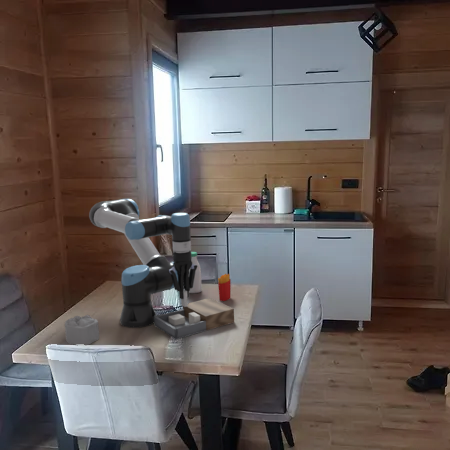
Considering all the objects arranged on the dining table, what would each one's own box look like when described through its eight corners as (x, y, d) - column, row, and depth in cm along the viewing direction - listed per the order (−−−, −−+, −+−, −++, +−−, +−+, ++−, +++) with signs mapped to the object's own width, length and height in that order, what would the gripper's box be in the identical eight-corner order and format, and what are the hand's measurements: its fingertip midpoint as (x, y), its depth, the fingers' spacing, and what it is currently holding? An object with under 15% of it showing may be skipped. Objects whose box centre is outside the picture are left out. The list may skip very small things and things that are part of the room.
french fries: (226, 295, 242) (225, 272, 239) (232, 297, 239) (232, 273, 237) (216, 301, 234) (215, 276, 232) (223, 302, 232) (222, 277, 230)
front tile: (200, 327, 200) (195, 328, 199) (194, 323, 205) (189, 324, 203) (200, 315, 199) (194, 316, 198) (194, 312, 204) (188, 313, 202)
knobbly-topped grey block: (83, 347, 187) (81, 325, 186) (59, 341, 194) (57, 320, 192) (102, 337, 196) (101, 316, 195) (79, 331, 202) (77, 311, 201)
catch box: (175, 339, 192) (175, 329, 191) (154, 325, 206) (153, 316, 205) (206, 330, 199) (205, 321, 199) (183, 317, 214) (183, 309, 213)
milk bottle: (204, 289, 252) (202, 251, 249) (197, 294, 245) (195, 255, 242) (191, 288, 255) (189, 250, 252) (183, 292, 249) (181, 253, 245)
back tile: (184, 317, 205) (185, 322, 206) (178, 313, 209) (179, 319, 210) (174, 319, 202) (174, 325, 203) (168, 316, 206) (168, 322, 207)
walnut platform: (206, 330, 199) (205, 316, 198) (183, 317, 214) (182, 304, 213) (234, 322, 207) (233, 308, 206) (210, 310, 222) (210, 297, 221)
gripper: (172, 255, 197) (175, 311, 201) (200, 249, 204) (202, 304, 208) (163, 251, 203) (166, 306, 207) (191, 246, 210) (193, 300, 214)
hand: (184, 305), depth 208 cm, fingers closed
